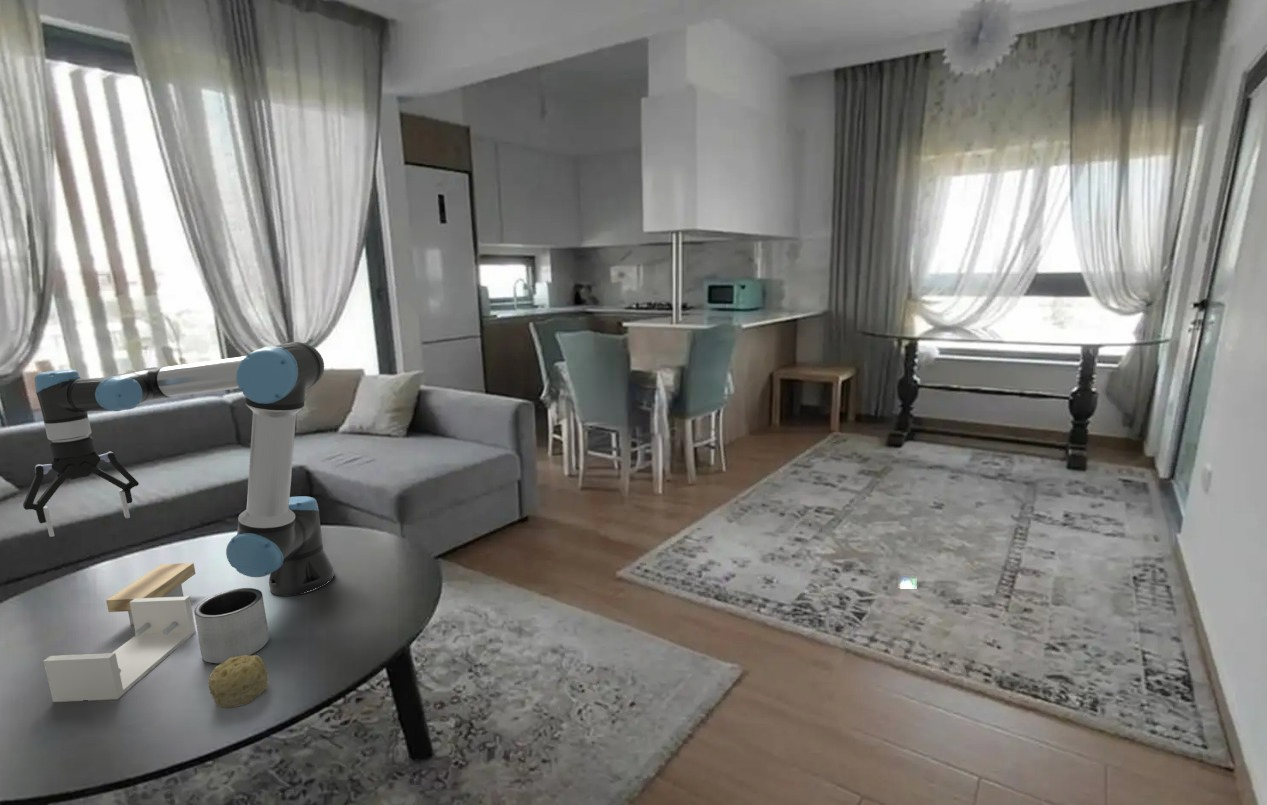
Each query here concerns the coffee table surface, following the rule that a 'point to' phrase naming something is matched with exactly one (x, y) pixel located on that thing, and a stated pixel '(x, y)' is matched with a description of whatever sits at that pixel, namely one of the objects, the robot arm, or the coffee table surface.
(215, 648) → the planter
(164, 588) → the board
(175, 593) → the block
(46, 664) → the shelf bay
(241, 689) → the decorative item
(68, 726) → the coffee table surface
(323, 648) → the coffee table surface
